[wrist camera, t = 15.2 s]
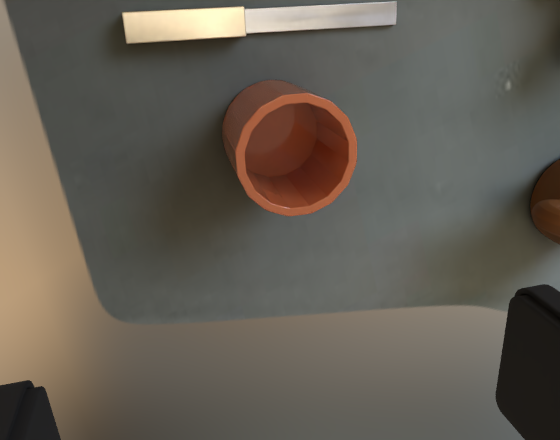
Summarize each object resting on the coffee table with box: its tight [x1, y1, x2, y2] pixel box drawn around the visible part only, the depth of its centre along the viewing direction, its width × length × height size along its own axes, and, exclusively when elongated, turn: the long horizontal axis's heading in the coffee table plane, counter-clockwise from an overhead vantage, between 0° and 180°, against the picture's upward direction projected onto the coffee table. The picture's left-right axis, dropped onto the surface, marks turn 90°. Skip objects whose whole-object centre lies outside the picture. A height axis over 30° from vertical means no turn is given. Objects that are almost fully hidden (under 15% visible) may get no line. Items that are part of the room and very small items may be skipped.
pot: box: [222, 80, 357, 216], centre depth 30 cm, size 7×7×7 cm
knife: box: [122, 1, 397, 44], centre depth 30 cm, size 17×2×1 cm, turn 93°
